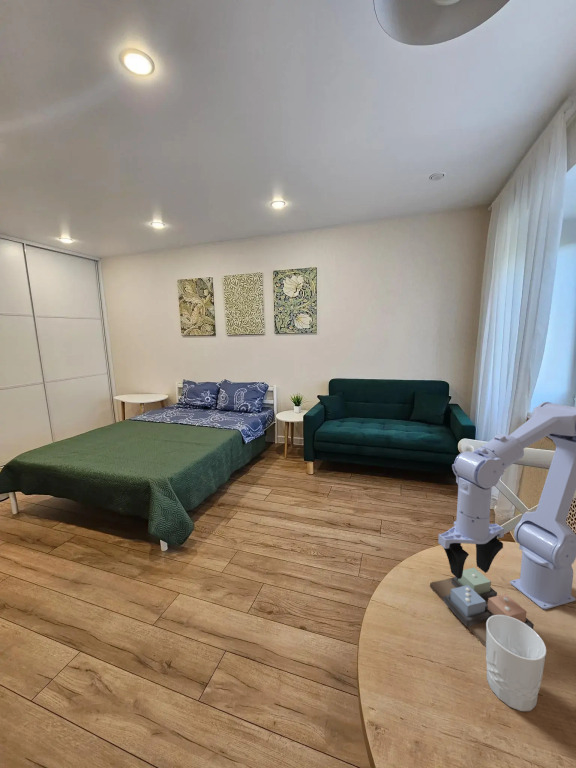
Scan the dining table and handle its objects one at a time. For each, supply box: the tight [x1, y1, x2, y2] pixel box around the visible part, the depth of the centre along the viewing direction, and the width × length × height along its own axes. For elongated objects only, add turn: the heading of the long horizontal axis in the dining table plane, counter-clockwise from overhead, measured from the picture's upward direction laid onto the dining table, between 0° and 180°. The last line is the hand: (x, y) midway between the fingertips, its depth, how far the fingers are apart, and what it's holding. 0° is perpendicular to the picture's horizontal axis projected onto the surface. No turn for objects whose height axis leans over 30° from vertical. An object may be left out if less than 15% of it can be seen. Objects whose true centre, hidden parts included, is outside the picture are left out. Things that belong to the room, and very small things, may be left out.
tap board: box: [429, 576, 535, 648], centre depth 66 cm, size 12×17×2 cm
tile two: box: [488, 593, 527, 623], centre depth 62 cm, size 4×4×3 cm
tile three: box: [450, 585, 486, 617], centre depth 65 cm, size 4×4×3 cm
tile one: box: [458, 567, 492, 595], centre depth 70 cm, size 4×4×3 cm
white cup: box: [485, 615, 547, 712], centre depth 50 cm, size 8×8×10 cm
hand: (469, 572), depth 64 cm, fingers open, 6 cm apart
